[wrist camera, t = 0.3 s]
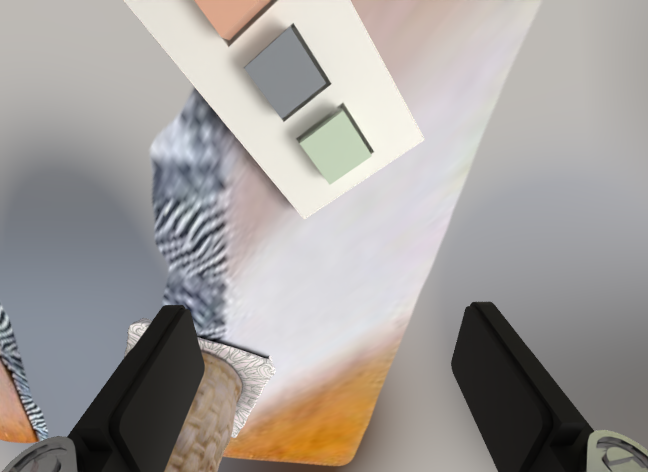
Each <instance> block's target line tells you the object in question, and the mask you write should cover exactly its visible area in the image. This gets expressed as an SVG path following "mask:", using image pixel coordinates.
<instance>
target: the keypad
mask: <svg viewBox="0 0 648 472" xmlns="http://www.w3.org/2000/svg"><path fill="white" fill-rule="evenodd" d="M123 1H124V2H125V3H126V4H127V5H128V7H129V8H130V9H131V10H132V12H133V13H134V14H135V15H136V16H137V18H138V19H139V20H140V21H141V23H142V24H143V25H144V26H145V27H146V29H147V30H148V31H149V32H150V33H151V35H152V36H153V37H154V38H155V39H156V40H157V42H158V43H159V44H160V45H161V47H162V48H163V49H164V50H165V52H166V53H167V54H168V55H169V56H170V58H171V59H172V60H173V61H174V62H175V64H176V65H177V66H178V67H179V69H180V70H181V71H182V72H183V73H184V75H185V76H186V77H187V78H188V79H189V81H190V82H191V83H192V84H193V86H194V87H195V88H196V89H197V90H198V92H199V93H200V94H201V95H202V96H203V98H204V99H205V100H206V101H207V102H208V104H209V105H210V106H211V107H212V109H213V110H214V111H215V112H216V113H217V115H218V116H219V117H220V118H221V119H222V121H223V122H224V123H225V124H226V126H227V127H228V128H229V129H230V130H231V132H232V133H233V134H234V135H235V136H236V138H237V139H238V140H239V141H240V142H241V144H242V145H243V146H244V147H245V149H246V150H247V151H248V152H249V153H250V155H251V156H252V157H253V158H254V159H255V161H256V162H257V163H258V164H259V165H260V167H261V168H262V169H263V170H264V172H265V173H266V174H267V175H268V176H269V178H270V179H271V180H272V181H273V182H274V184H275V185H276V186H277V187H278V188H279V190H280V191H281V192H282V193H283V195H284V196H285V197H286V198H287V199H288V201H289V202H290V203H291V204H292V205H293V207H294V208H295V209H296V210H297V212H298V213H299V214H300V215H301V216H302V218H303V219H306V218H307V217H309V216H310V215H312V214H313V213H315V212H317V211H318V210H320V209H321V208H323V207H324V206H326V205H327V204H329V203H330V202H332V201H333V200H335V199H336V198H338V197H339V196H341V195H342V194H344V193H345V192H347V191H348V190H350V189H351V188H353V187H354V186H356V185H357V184H359V183H360V182H362V181H363V180H365V179H366V178H368V177H369V176H371V175H372V174H374V173H375V172H377V171H378V170H380V169H381V168H383V167H384V166H386V165H387V164H389V163H390V162H392V161H393V160H395V159H396V158H398V157H399V156H401V155H402V154H404V153H406V152H407V151H409V150H410V149H412V148H413V147H415V146H416V145H418V144H419V143H421V142H422V141H424V140H425V139H424V137H423V135H422V133H421V131H420V129H419V128H418V126H417V124H416V122H415V120H414V118H413V116H412V115H411V113H410V111H409V109H408V107H407V105H406V103H405V101H404V100H403V98H402V96H401V94H400V92H399V90H398V88H397V87H396V85H395V83H394V81H393V79H392V77H391V75H390V73H389V72H388V70H387V68H386V66H385V64H384V62H383V60H382V59H381V57H380V55H379V53H378V51H377V49H376V47H375V45H374V44H373V42H372V40H371V38H370V36H369V34H368V32H367V31H366V29H365V27H364V25H363V23H362V21H361V19H360V17H359V16H358V14H357V12H356V10H355V8H354V6H353V4H352V3H351V1H350V0H271V1H270V2H269V3H268V4H267V5H265V6H264V7H263V8H262V9H261V10H260V11H259V12H258V13H257V14H256V15H255V16H254V17H253V18H252V19H251V20H250V21H249V22H248V23H247V24H246V25H245V26H244V27H243V28H241V29H240V30H239V31H238V32H237V33H236V34H235V35H234V36H233V37H232V38H231V39H230V40H227V39H225V38H222V37H221V36H220V35H219V33H218V32H217V31H216V29H215V28H214V27H213V25H212V24H211V23H210V21H209V20H208V18H207V17H206V16H205V14H204V13H203V12H202V10H201V9H200V8H199V6H198V5H197V3H196V2H195V1H194V0H123ZM289 27H291V29H292V30H293V32H294V33H295V35H296V36H297V38H298V40H299V41H300V43H301V44H302V46H303V47H304V49H305V51H306V52H307V54H308V55H309V57H310V58H311V60H312V62H313V63H314V65H315V66H316V68H317V70H318V71H319V73H320V74H321V76H322V77H323V79H324V81H325V82H326V84H325V85H324V86H322V87H321V88H320V89H319V90H317V91H316V92H315V93H314V94H312V95H311V96H310V97H309V98H307V99H306V100H305V101H304V102H302V103H301V104H300V105H299V106H297V107H296V108H295V109H294V110H292V111H291V112H290V113H289V114H287V115H286V116H285V117H284V118H282V119H281V118H280V116H279V115H278V114H277V112H276V111H275V110H274V108H273V107H272V106H271V104H270V103H269V101H268V100H267V99H266V97H265V96H264V95H263V93H262V92H261V91H260V89H259V88H258V86H257V85H256V84H255V82H254V81H253V80H252V78H251V77H250V76H249V74H248V73H247V72H246V70H245V69H244V68H245V67H246V66H247V65H248V64H249V63H250V62H251V61H252V60H254V59H255V58H256V57H257V56H258V55H259V54H260V53H261V52H262V51H264V50H265V49H266V48H267V47H268V46H269V45H270V44H271V43H272V42H273V41H275V40H276V39H277V38H278V37H279V36H280V35H281V34H282V33H283V32H285V31H286V30H287V29H288V28H289ZM340 109H343V111H344V112H345V114H346V115H347V117H348V118H349V120H350V122H351V123H352V125H353V126H354V128H355V130H356V131H357V133H358V134H359V136H360V137H361V139H362V141H363V142H364V144H365V145H366V147H367V148H368V150H369V152H370V153H371V155H372V156H371V157H370V158H368V159H367V160H366V161H364V162H363V163H361V164H360V165H358V166H357V167H355V168H354V169H352V170H351V171H349V172H348V173H347V174H345V175H344V176H342V177H341V178H339V179H338V180H336V181H335V182H333V183H332V184H329V183H328V182H327V180H326V179H325V178H324V176H323V175H322V174H321V172H320V171H319V169H318V168H317V167H316V165H315V164H314V163H313V161H312V160H311V159H310V157H309V156H308V155H307V153H306V152H305V150H304V149H303V148H302V146H301V145H300V141H301V139H302V138H303V137H305V136H306V135H307V134H309V133H310V132H311V131H313V130H314V129H315V128H317V127H318V126H319V125H321V124H322V123H323V122H324V121H326V120H327V119H328V118H330V117H331V116H332V115H334V114H335V113H336V112H338V111H339V110H340Z"/></svg>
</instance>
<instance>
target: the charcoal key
mask: <svg viewBox="0 0 648 472" xmlns="http://www.w3.org/2000/svg"><path fill="white" fill-rule="evenodd" d="M244 69H245V70H246V72H247V73H248V74H249V76H250V77H251V78H252V80H253V81H254V82H255V84H256V85H257V86H258V88H259V89H260V91H261V92H262V93H263V95H264V96H265V97H266V99H267V100H268V101H269V103H270V104H271V106H272V107H273V108H274V110H275V111H276V112H277V114H278V115H279V116H280V118H281V119H282V118H284V117H285V116H286V115H287V114H289V113H290V112H291V111H292V110H294V109H295V108H296V107H297V106H299V105H300V104H301V103H302V102H304V101H305V100H306V99H307V98H309V97H310V96H311V95H312V94H314V93H315V92H316V91H317V90H319V89H320V88H321V87H322V86H324V85H325V84H326V82H325V81H324V79H323V77H322V76H321V74H320V73H319V71H318V70H317V68H316V66H315V65H314V63H313V62H312V60H311V58H310V57H309V55H308V54H307V52H306V51H305V49H304V47H303V46H302V44H301V43H300V41H299V40H298V38H297V36H296V35H295V33H294V32H293V30H292V29H291V27H289V28H288V29H287V30H286V31H285V32H283V33H282V34H281V35H280V36H279V37H278V38H277V39H276V40H275V41H273V42H272V43H271V44H270V45H269V46H268V47H267V48H266V49H265V50H264V51H262V52H261V53H260V54H259V55H258V56H257V57H256V58H255V59H254V60H252V61H251V62H250V63H249V64H248V65H247V66H246V67H245V68H244Z"/></svg>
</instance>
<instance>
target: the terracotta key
mask: <svg viewBox="0 0 648 472" xmlns="http://www.w3.org/2000/svg"><path fill="white" fill-rule="evenodd" d="M194 1H195V2H196V3H197V5H198V6H199V8H200V9H201V10H202V12H203V13H204V14H205V16H206V17H207V18H208V20H209V21H210V23H211V24H212V25H213V27H214V28H215V29H216V31H217V32H218V33H219V35H220V36H221V37H222V38H225V39H227V40H230V39H231V38H232V37H233V36H234V35H235V34H236V33H237V32H238V31H239V30H240V29H241V28H243V27H244V26H245V25H246V24H247V23H248V22H249V21H250V20H251V19H252V18H253V17H254V16H255V15H256V14H257V13H258V12H259V11H260V10H261V9H262V8H263V7H264V6H265V5H267V4H268V3H269V2H270V1H271V0H194Z"/></svg>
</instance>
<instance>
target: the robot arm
mask: <svg viewBox="0 0 648 472" xmlns="http://www.w3.org/2000/svg"><path fill="white" fill-rule="evenodd" d="M451 366H452V371H453V374H454V376H455V378H456V380H457V383H458V385H459V387H460V389H461V391H462V393H463V396H464V398H465V400H466V402H467V404H468V407H469V409H470V411H471V413H472V415H473V417H474V420H475V422H476V424H477V426H478V428H479V431H480V433H481V434H482V437H483V440H484V442H485V444H486V446H487V448H488V450H489V452H490V455H491V457H492V459H493V461H494V464H495V466H496V468H497V470H498V472H648V451H647V450H646V449H645V448H644V447H642V446H641V445H640V444H638V443H637V442H635V441H633V440H631V439H629V438H628V437H626V436H624V435H621V434H619V433H616V432H612V431H607V430H599V431H595V432H594V430H593V429H592V428H591V427H590V425H589V424H588V423H587V421H586V420H585V419H584V418H583V416H582V415H581V414H580V412H579V411H578V410H577V409H576V407H575V406H574V405H573V404H572V402H571V401H570V400H569V398H568V397H567V396H566V395H565V393H564V392H563V391H562V390H561V388H560V387H559V386H558V385H557V383H556V382H555V381H554V379H553V378H552V377H551V376H550V374H549V373H548V372H547V371H546V369H545V368H544V367H543V365H542V364H541V363H540V362H539V360H538V359H537V358H536V357H535V355H534V354H533V353H532V352H531V350H530V349H529V348H528V347H527V346H526V345H525V343H524V342H523V341H522V339H521V338H520V337H519V335H518V334H517V333H516V332H515V330H514V329H513V328H512V326H511V325H510V324H509V323H508V321H507V320H506V319H505V318H504V316H503V315H502V314H501V312H500V311H499V310H498V309H497V307H496V306H495V305H494V304H493V303H492V302H472V303H471V305H470V306H468V307H466V309H465V312H464V316H463V320H462V324H461V327H460V331H459V335H458V339H457V342H456V346H455V350H454V354H453V357H452V362H451ZM204 371H205V364H204V360H203V356H202V352H201V349H200V345H199V341H198V338H197V334H196V330H195V327H194V323H193V319H192V316H191V312H190V310H188V309H185V307H184V306H183V305H165V306H163V307H162V308H161V310H160V311H159V313H158V314H157V315H156V317H155V318H154V319H153V321H152V322H151V324H150V325H149V326H148V328H147V329H146V331H145V332H144V333H143V335H142V336H141V337H140V339H139V340H138V342H137V343H136V344H135V346H134V347H133V348H132V349H131V350H130V351H129V352H128V354H127V355H126V356H125V358H124V359H123V360H122V362H121V363H120V365H119V366H118V367H117V369H116V370H115V372H114V373H113V374H112V376H111V377H110V378H109V380H108V381H107V383H106V384H105V385H104V387H103V388H102V389H101V391H100V392H99V394H98V395H97V397H96V398H95V399H94V401H93V402H92V403H91V405H90V406H89V408H88V409H87V410H86V412H85V413H84V414H83V416H82V417H81V419H80V420H79V421H78V423H77V424H76V425H75V427H74V428H73V430H72V431H71V432H70V434H69V435H68V436H67V437H62V436H57V437H52V438H47V439H45V440H43V441H40V442H38V443H36V444H34V445H33V446H31V447H29V448H28V449H26V450H25V451H23V452H22V453H21V454H19V455H18V456H17V457H16V458H15V459H13V460H12V461H11V462H10V463H9V464H8V465H7V466H6V467H5V469H4V470H3V471H2V472H164V471H165V468H166V466H167V463H168V461H169V458H170V456H171V454H172V451H173V449H174V446H175V444H176V441H177V439H178V436H179V434H180V432H181V429H182V427H183V424H184V422H185V419H186V417H187V414H188V412H189V409H190V407H191V405H192V402H193V400H194V397H195V395H196V392H197V390H198V387H199V385H200V383H201V380H202V378H203V375H204Z"/></svg>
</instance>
